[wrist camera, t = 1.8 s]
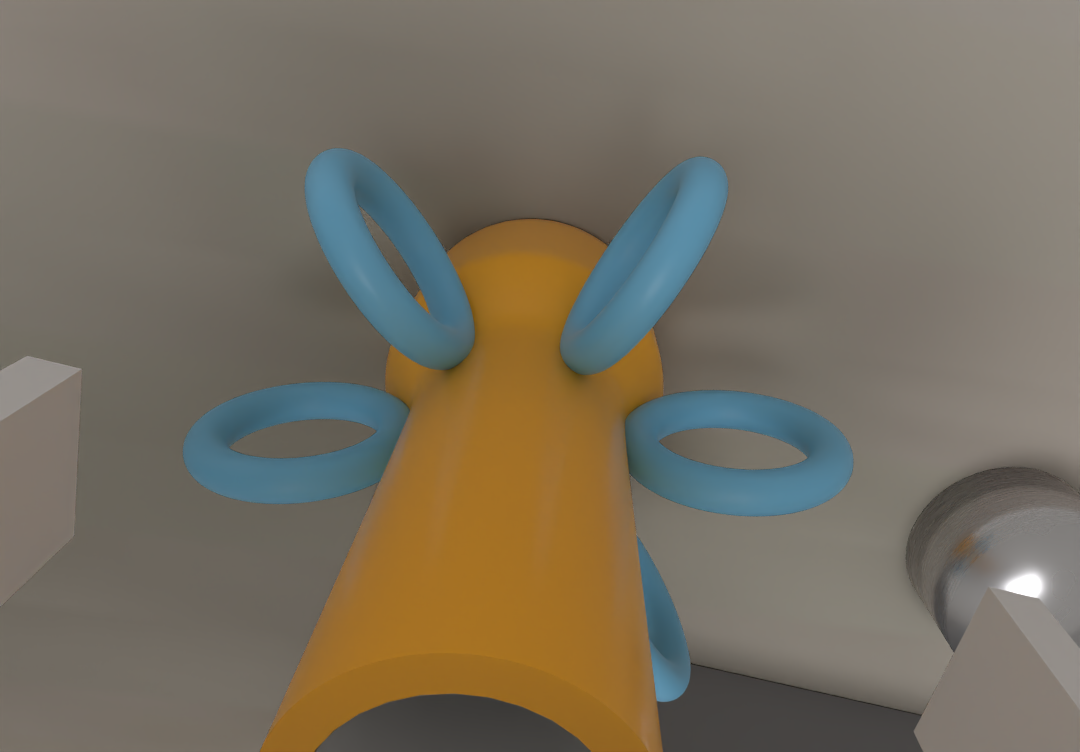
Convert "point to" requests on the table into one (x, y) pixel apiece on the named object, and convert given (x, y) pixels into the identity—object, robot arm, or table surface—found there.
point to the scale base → (776, 719)
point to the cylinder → (505, 476)
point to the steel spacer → (998, 547)
